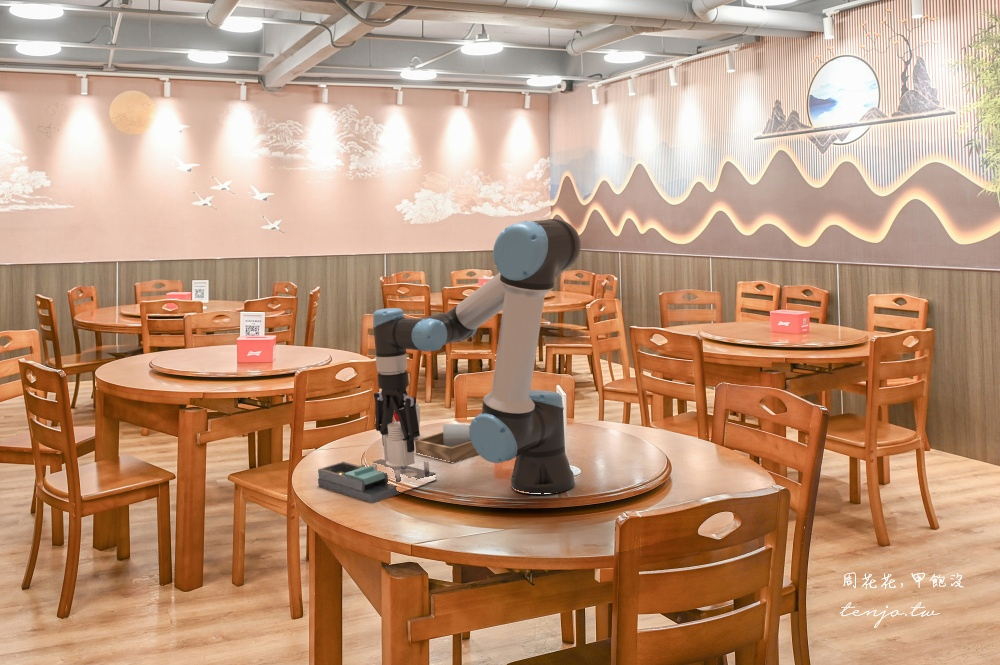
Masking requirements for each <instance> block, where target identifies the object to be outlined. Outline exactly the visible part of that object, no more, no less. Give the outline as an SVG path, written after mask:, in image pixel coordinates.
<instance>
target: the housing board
mask: <svg viewBox="0 0 1000 665" xmlns="http://www.w3.org/2000/svg"><path fill="white" fill-rule="evenodd" d="M372 462H373V463H377V464H381V465H384V466H385V467H390V468H392V469H393V470H394V473H395V478H396V482H400V481H401V477H400V474H402V475H403V474H404V475H406V476H408V478H411V477H415V478H417V479H420V478H424V477H429V476H433V475H436V476H437V473H436V472H434V471H430V463H429V462H430V461H429V460H424V461H423V468H424V469H421V468H417V467H413V466H410V465H408V466H400V467H393V466H388V465H387V464H386V460H385V459H377V460H373V461H372ZM372 466H373V468H374V470H377V465H376V464H372ZM363 467H365V465H364V464H362V465H361V464H360V465H358V464H354V463H351V462H346V461H341V462H338V463H335V464H331V465H328V466H325V467H321V468H318V469H317V471H318V478H317V481H318V482H317V484H318V487H319V488H322V489H325V490H328V491H331V492H335V493H338V494H341V495H344V496H347V497H351V498H354V499H358V500H360V501H364V502H367V503H371V504H375V503H378V502H380V501H383V500H386V499H389V498H392V497H394V496H397V495H399V494H401V493H399V491H397V490H396V487H397V486H393V485H390V484H387V482H388V475H387V473H384V475H385V478H384V479H381V480H378V481H375V482H372V483H369V484H366V485H365V484H364V481H362V480H359V479H355V478H352V477H348V476H345V474H344V473H347V472H350V471H353V470H356V469H359V468H363ZM392 472H393V471H392ZM417 479H416V480H417Z"/></svg>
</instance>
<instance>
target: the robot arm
mask: <svg viewBox="0 0 1000 665" xmlns="http://www.w3.org/2000/svg"><path fill="white" fill-rule="evenodd" d="M581 248H582V242H581V237H580V236H579V233H578V231H577V229H576V228H575V227H574V226H573V225H572V224H570V223H569V222H567V221H565V220H563V219H557V218H548V219H542V220H541V219H540V220H530V221H529V220H525V221H524V220H523V221H520V222H519V221H518V222H517V223H513V224H511V225H509V226H507V227H505V228H504V229H503V230H501V232H500V233H499V234H498V236H497V238H496V239H495V242H494V244H493V248H492V249H493V251H492V258H493V263H494V265H496V270H497V272H498V273H497V274H496V275H494V276H493V277H492V278H490V279H489V280H488V281H486V282H485V283H483V285H480V287H479V288H477V289H476V290H474V291H473V292H472V293H471V294H469V295H468V296H467V297H465V298H464V299H463V300H462V301H460V302H459V303H457V305H455V306H454V307H453V308H451V309H450V310H448V311H446V312H443V313H438V314H435V315H428V316H424V317H420V318H419V317H417V318H410V317H405V314H404V310H403V309H402V308H398V307H396V308H395V307H391V308H381V309H377V310H375V311H374V312H373V315H372V318H373V319H372V323H373V324H372V331H373V337H374V348H375V362H376V363H375V364H376V365H375V366H376V367H375V368H376V371H377V372H378V374H377V386H378V389H380V390H381V391H379V392H375V393H373V397H374V398H373V399H374V403H375V407H374V408H375V412H374V414H375V420H374V421H375V422H374V423H375V431H377V432H380V435H381V440H382V446H383V453H384V460H386V461H387V460H388V453H387V442H386V438H387V437H389V436H388V426H387V425H388V424H390V423H393V421H394V417H393V415H394V411H395V413H396V414H397V415H398V418H399V421H400V425H401V428H402V431H403V434H404V439H403V440H402V441H403V454H404V465H405V466H410V465H414V464H416V463H415V451H416V448H415V440H414V438H415V437H417V438H418V437H420V436H421V434H420V425H418V419H417V412H416V404H417V398H416V396H412V397H411V396H409V395H408V391H407V388H408V387H409V385H410V380H409V372H408V371H407V369H408V359H407V358H408V356H407V350H413V351H414V350H415V351H422V352H423V351H424V352H436V351H437V352H438V351H439V350H441V349H442V347H444V346H445V345H447V344H451V343H455V342H462V341H464V340H465V341H466V340H467V339H469V338H471V337H473V336H475V334H476V333H477V330H478V328H479V327H481V326H482V325H483V324H485V323H486V322H488V321H489V320H490V319H492V318H493V317H494V316H496V315H497V314H499V313H500V312H501V311H502V312H501V320H500V328H499V333H498V335H499V336H498V342H497V349H496V356H495V362H494V369H493V370H494V371H493V378H492V383H491V384H492V385H491V391H490V392H488V393H487V394H485V395H484V396H483V399H482V407H481V413H479V414H477V415H476V416H475V417H474V418H473V419H472V420H471V422H470V424H469V425H470V428H469V435H470V440H471V443H472V445H473V447H474V448H475V449H476V451H477V453H478V455H479V456H480V457H481V458H482V459H483V460H485V461H487V462H490V463H492V464H501V463H505V462H508V461H512V460H513V459H515V461H514V465H513V471H512V474H511V476H510V483H511V486H512V487H513V488H514V489H516V490H519V491H524V492H529V493H541V494H544V493H556V492H561V493H563V492H562V491H564V492H566V490H567V491H569V490H571V489H572V488H573V487H574V486H575V475H574V471H573V470H572V468H571V466H570V462H569V459H568V457H567V453H566V441H565V440H566V439H565V436H566V435H565V420H564V419H565V418H564V408H565V407H564V404H563V398H562V395H561V394H560V393H558V392H556V391H552V390H542V389H541V390H539V389H538V390H537V389H534V390H533V389H532V383H533V375H534V368H535V362H536V356H537V349H538V344H539V336H540V330H541V324H542V317H543V312H544V311H543V310H544V303H545V297H546V295H547V294H548V293H550V292H551V291H552V290H554V287H555V286H554V285H555V280H556V278H557V277H558V276H559V275H561V274H562V273H564V272H566V271H567V270H569V269H570V268H571V267H572V266H574V265H575V263H576V262H577V261H578V259H579V257H580V254H581ZM402 408H403V409H402ZM408 433H409V434H408ZM511 486H510V487H511ZM512 487H511V488H512Z"/></svg>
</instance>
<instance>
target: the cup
mask: <svg viewBox="0 0 1000 665" xmlns="http://www.w3.org/2000/svg"><path fill="white" fill-rule="evenodd" d="M402 409H403V408H402ZM416 412H417V419H418V425H419V426H420V423H421V405H420V404H419V403H416ZM393 422H400V421H399V418H398V415H397V414H396V413H395V411H394V415H393ZM408 434H409V433H408ZM415 440H418V437H415V438H414V441H415Z"/></svg>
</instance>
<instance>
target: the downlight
mask: <svg viewBox="0 0 1000 665" xmlns="http://www.w3.org/2000/svg"><path fill="white" fill-rule="evenodd" d="M387 426H388V436H389V437H387V438H386V442H387V453H388V460H387V461H386V464H387V465H388V466H393V467H400V466H405V465H404V454H403V441H402V440H403V439H404V434H403V431H402V428H401V425H400V422H394V421H392V423H390V424H388V425H387Z"/></svg>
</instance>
